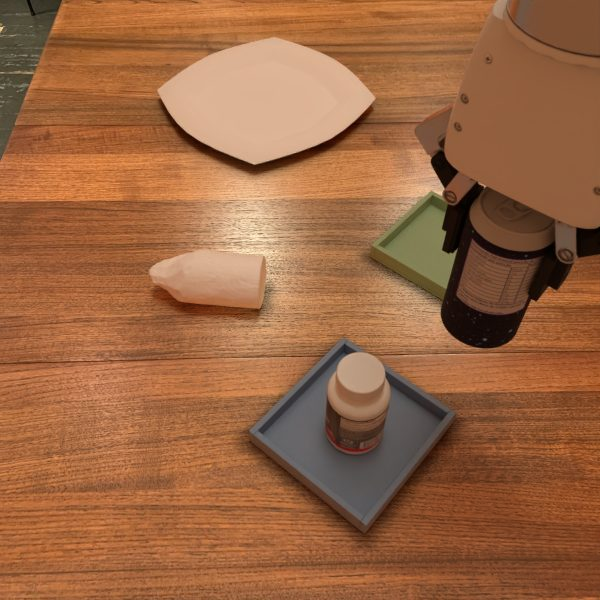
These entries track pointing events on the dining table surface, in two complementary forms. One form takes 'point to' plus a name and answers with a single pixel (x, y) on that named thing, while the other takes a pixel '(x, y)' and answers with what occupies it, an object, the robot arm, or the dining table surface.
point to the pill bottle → (357, 404)
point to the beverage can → (495, 269)
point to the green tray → (418, 246)
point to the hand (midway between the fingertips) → (498, 261)
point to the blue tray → (346, 467)
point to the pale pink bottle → (213, 278)
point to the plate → (265, 99)
